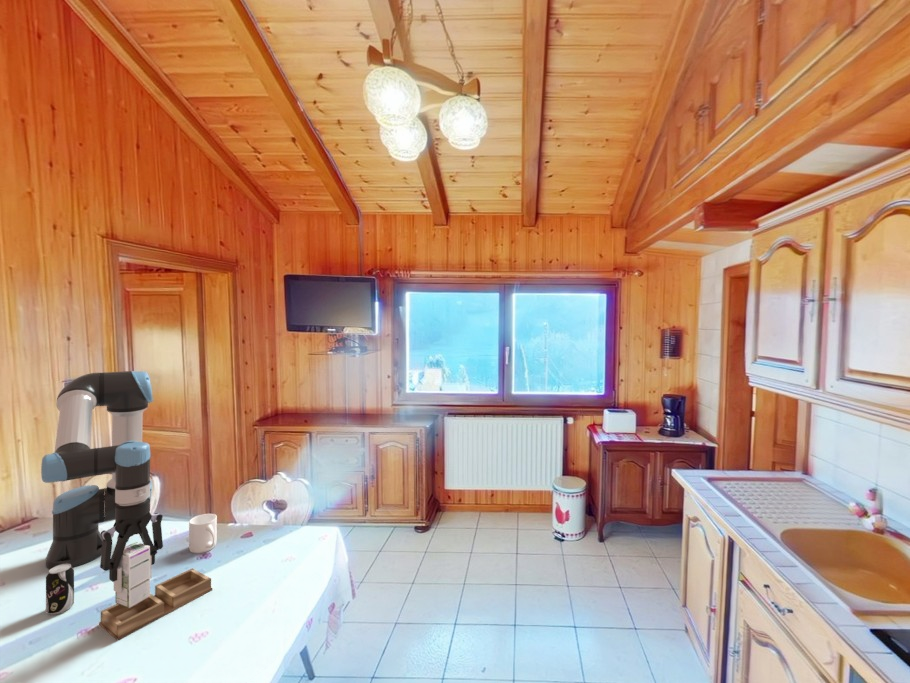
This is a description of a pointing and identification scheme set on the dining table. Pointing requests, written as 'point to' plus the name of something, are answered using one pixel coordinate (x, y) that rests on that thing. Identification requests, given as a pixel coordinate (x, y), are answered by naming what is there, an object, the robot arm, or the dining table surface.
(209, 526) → the mug
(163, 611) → the rack
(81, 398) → the robot arm
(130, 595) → the syrup box
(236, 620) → the dining table surface
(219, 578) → the dining table surface
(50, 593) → the beverage can
